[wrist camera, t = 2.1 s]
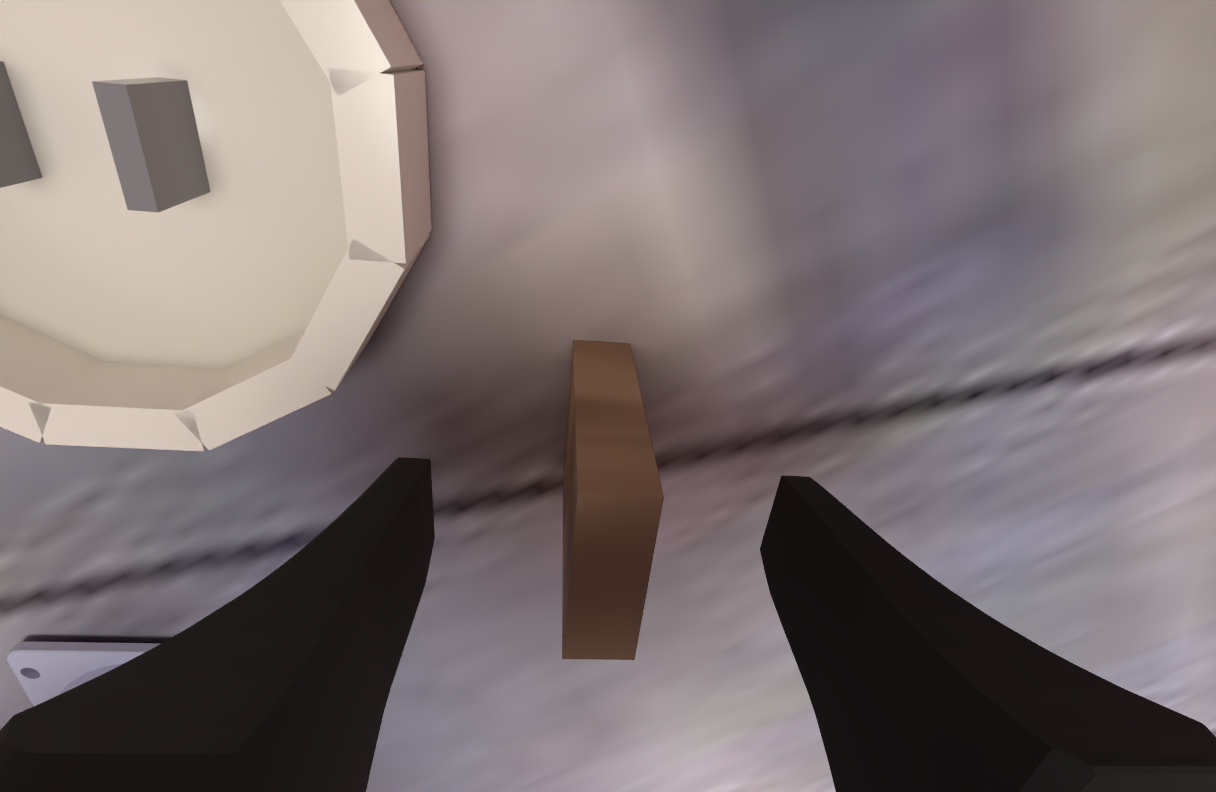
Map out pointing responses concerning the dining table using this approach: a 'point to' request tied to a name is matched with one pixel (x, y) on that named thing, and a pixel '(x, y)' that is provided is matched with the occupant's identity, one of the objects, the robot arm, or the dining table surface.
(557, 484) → the dining table surface
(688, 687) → the dining table surface
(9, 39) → the white shallow dish
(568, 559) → the brown wooden block
